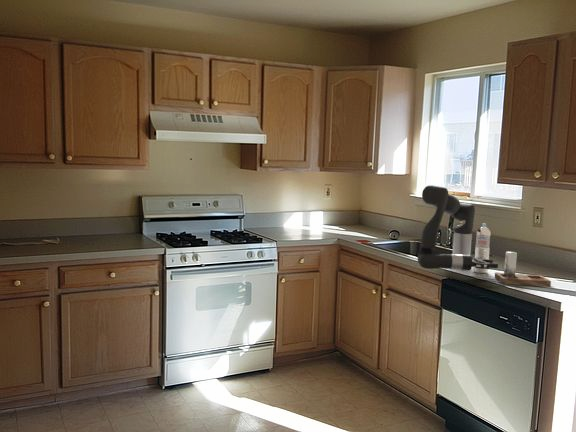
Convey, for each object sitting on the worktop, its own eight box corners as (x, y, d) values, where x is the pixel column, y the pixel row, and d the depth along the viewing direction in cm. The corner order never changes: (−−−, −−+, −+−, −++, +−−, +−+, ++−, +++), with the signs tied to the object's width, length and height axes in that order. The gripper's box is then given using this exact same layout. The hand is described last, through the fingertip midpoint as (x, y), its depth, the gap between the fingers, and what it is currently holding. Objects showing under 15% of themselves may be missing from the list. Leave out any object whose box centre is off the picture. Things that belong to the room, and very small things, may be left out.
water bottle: (470, 271, 281) (474, 223, 278) (477, 270, 286) (481, 222, 283) (483, 274, 276) (487, 224, 273) (489, 272, 281) (493, 224, 278)
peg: (501, 279, 266) (504, 251, 265) (512, 280, 266) (515, 251, 264) (505, 282, 261) (507, 253, 260) (515, 282, 261) (518, 253, 259)
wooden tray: (494, 277, 270) (495, 272, 270) (540, 280, 268) (541, 274, 268) (501, 283, 258) (502, 278, 258) (550, 286, 256) (551, 280, 256)
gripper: (464, 257, 257) (500, 259, 256) (457, 251, 271) (491, 253, 270) (463, 273, 258) (498, 275, 257) (456, 266, 272) (490, 268, 271)
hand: (495, 263), depth 263 cm, fingers open, 8 cm apart
